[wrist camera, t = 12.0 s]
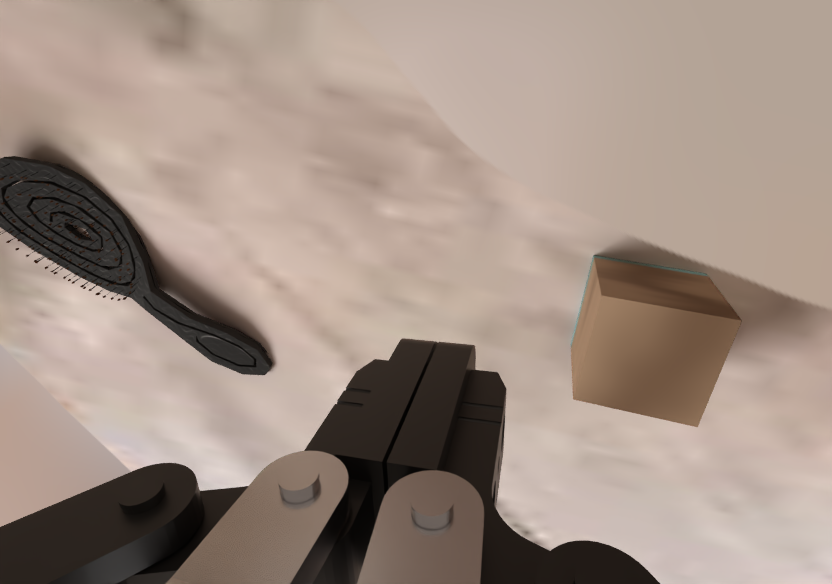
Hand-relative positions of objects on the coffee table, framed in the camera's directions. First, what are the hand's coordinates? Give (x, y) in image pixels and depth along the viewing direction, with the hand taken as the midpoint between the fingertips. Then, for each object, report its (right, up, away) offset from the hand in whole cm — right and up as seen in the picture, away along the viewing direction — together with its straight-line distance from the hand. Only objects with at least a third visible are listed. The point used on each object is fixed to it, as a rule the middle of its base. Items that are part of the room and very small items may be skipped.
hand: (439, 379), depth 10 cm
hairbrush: (-22, +4, +28) cm, 36 cm away
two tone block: (+11, -2, +13) cm, 17 cm away
